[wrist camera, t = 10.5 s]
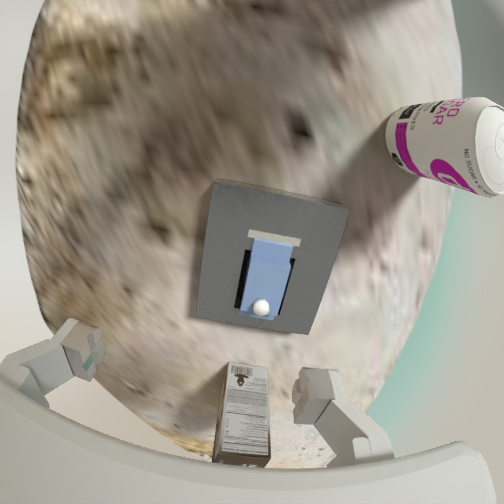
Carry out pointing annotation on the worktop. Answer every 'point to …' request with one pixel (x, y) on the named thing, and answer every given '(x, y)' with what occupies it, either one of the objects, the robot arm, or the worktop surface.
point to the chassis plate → (276, 230)
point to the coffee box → (243, 418)
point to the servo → (265, 279)
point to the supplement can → (451, 143)
